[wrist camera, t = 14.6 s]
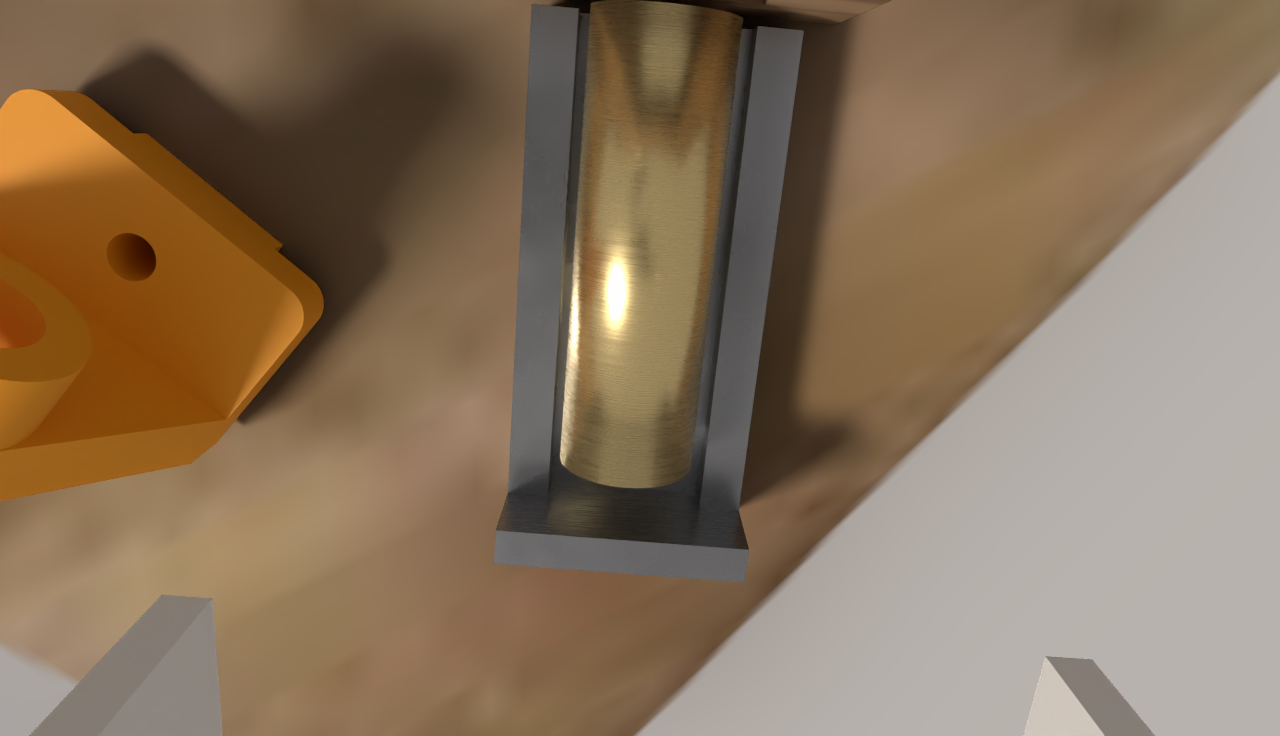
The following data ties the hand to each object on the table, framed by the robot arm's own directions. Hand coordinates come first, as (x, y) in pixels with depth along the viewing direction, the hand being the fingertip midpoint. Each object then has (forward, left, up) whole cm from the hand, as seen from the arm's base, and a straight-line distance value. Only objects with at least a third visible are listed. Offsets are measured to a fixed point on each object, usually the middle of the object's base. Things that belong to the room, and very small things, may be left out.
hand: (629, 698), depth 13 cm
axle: (-5, 0, -17) cm, 18 cm away
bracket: (-2, -17, -18) cm, 25 cm away
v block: (-4, 0, -18) cm, 19 cm away
